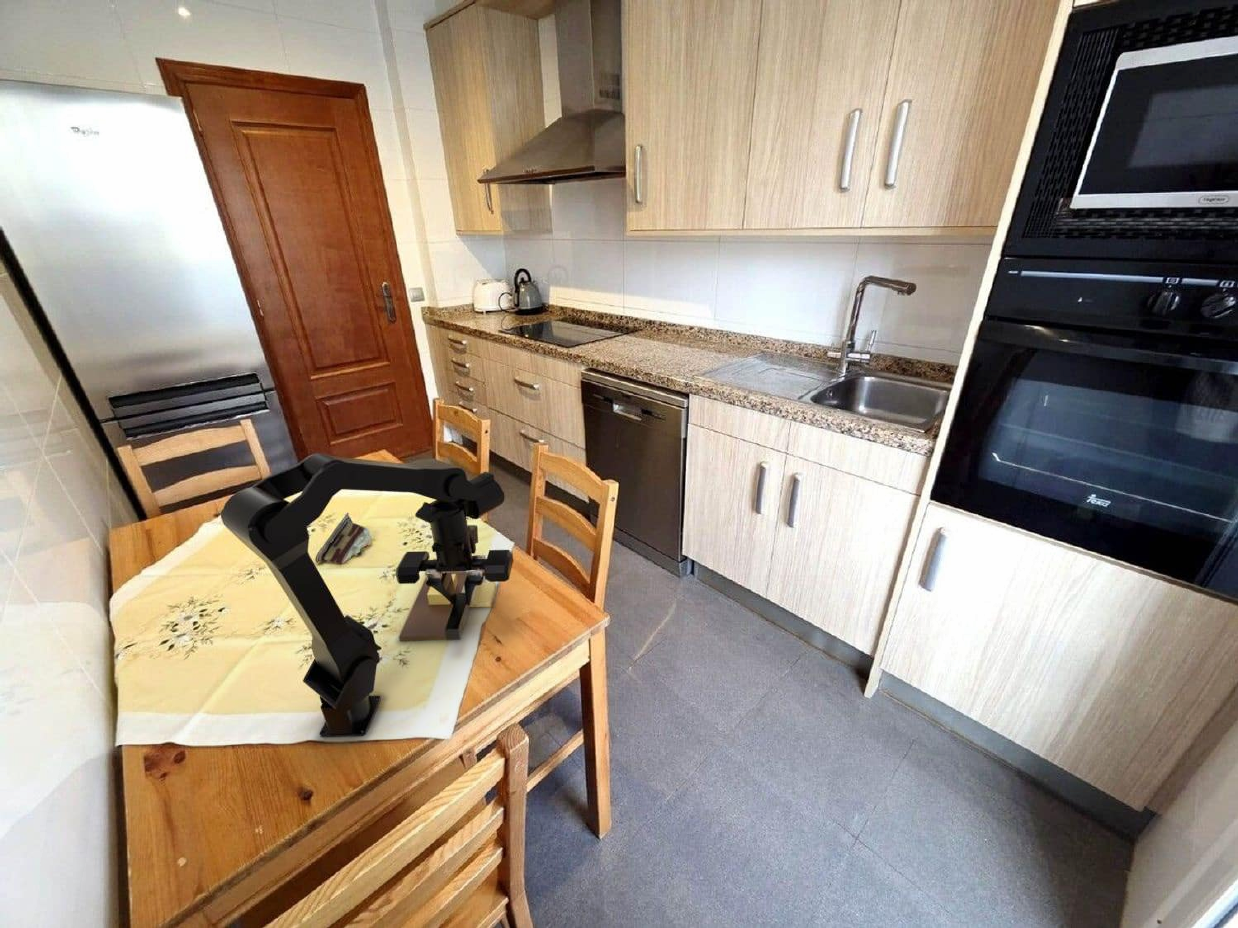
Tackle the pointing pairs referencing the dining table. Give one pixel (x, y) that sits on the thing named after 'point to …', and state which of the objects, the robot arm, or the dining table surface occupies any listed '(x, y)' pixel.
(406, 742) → the dining table surface
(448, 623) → the knife
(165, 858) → the dining table surface
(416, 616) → the board
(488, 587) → the butter slab
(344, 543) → the chocolate cake
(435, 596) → the butter block
